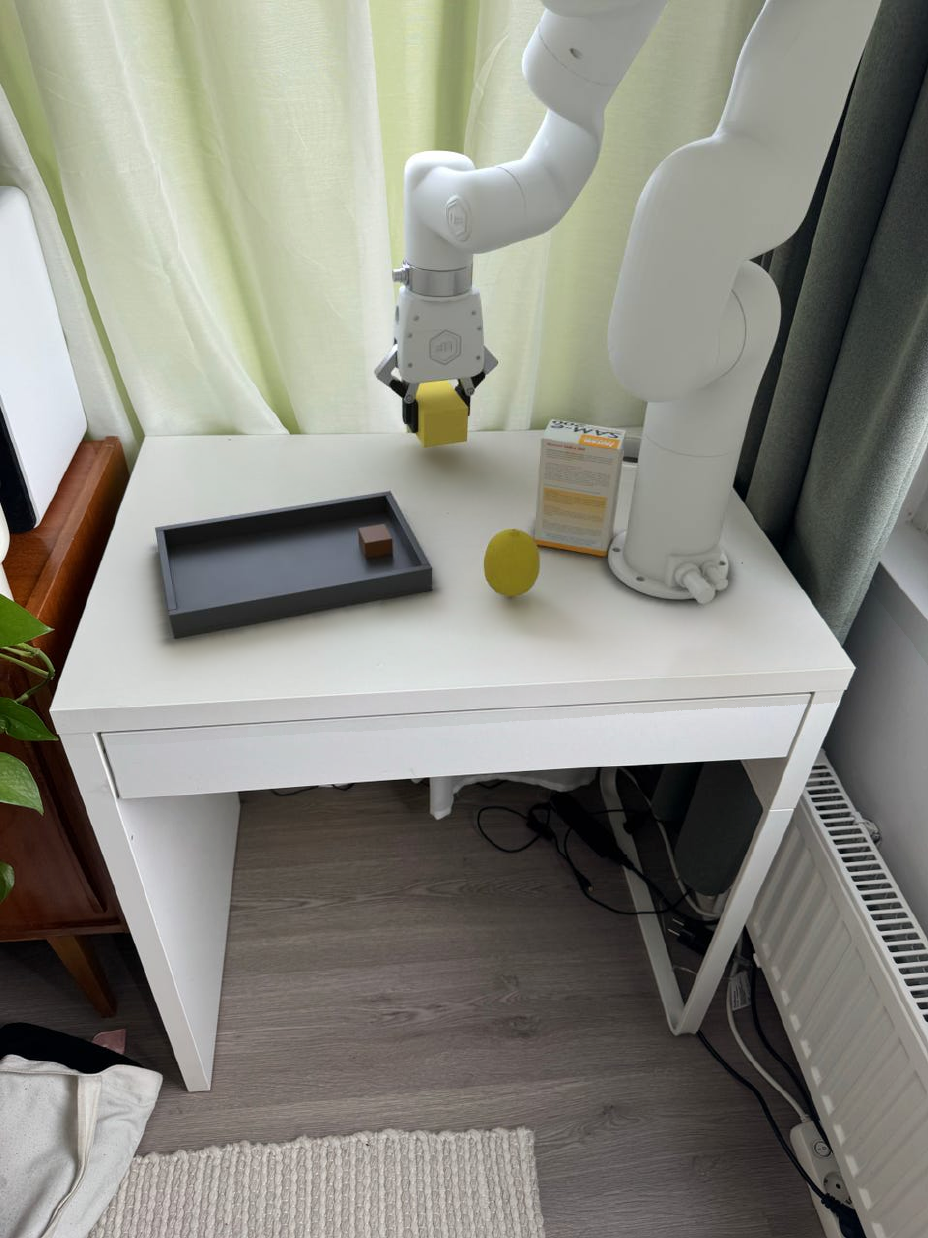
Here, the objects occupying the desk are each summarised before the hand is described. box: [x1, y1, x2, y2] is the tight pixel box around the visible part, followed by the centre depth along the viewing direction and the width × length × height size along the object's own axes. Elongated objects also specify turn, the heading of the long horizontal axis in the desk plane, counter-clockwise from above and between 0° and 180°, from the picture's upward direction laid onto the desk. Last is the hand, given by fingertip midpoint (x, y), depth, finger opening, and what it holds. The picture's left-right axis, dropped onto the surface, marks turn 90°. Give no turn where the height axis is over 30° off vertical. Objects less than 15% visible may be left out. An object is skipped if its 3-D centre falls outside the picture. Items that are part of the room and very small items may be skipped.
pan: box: [154, 490, 433, 639], centre depth 96 cm, size 16×26×3 cm, turn 109°
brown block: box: [358, 524, 393, 558], centre depth 98 cm, size 3×3×2 cm
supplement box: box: [533, 418, 627, 558], centre depth 98 cm, size 8×5×13 cm, turn 73°
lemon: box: [483, 528, 541, 598], centre depth 92 cm, size 6×6×8 cm
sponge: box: [414, 380, 469, 448], centre depth 113 cm, size 8×6×4 cm
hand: (436, 423), depth 114 cm, fingers closed on sponge, 5 cm apart
